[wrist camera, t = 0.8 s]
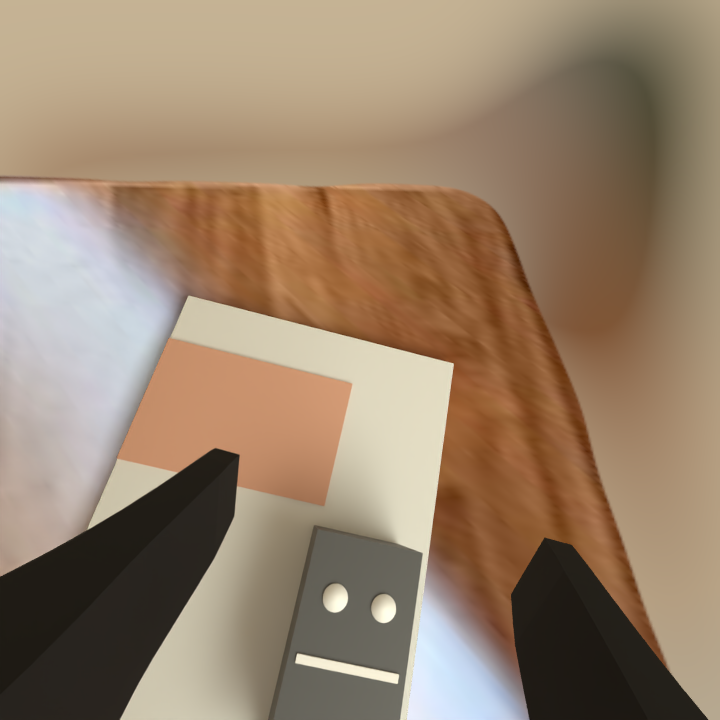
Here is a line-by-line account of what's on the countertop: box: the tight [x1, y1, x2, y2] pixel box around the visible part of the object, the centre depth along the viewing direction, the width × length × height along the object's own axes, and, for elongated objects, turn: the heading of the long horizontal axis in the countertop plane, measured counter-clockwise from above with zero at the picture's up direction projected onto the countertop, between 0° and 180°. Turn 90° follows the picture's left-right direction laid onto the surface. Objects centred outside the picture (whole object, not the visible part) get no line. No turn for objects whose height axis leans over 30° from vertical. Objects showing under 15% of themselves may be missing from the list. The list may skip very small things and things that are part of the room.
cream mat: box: [87, 296, 454, 720], centre depth 21 cm, size 21×17×1 cm
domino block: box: [268, 525, 423, 720], centre depth 17 cm, size 9×5×5 cm, turn 168°
